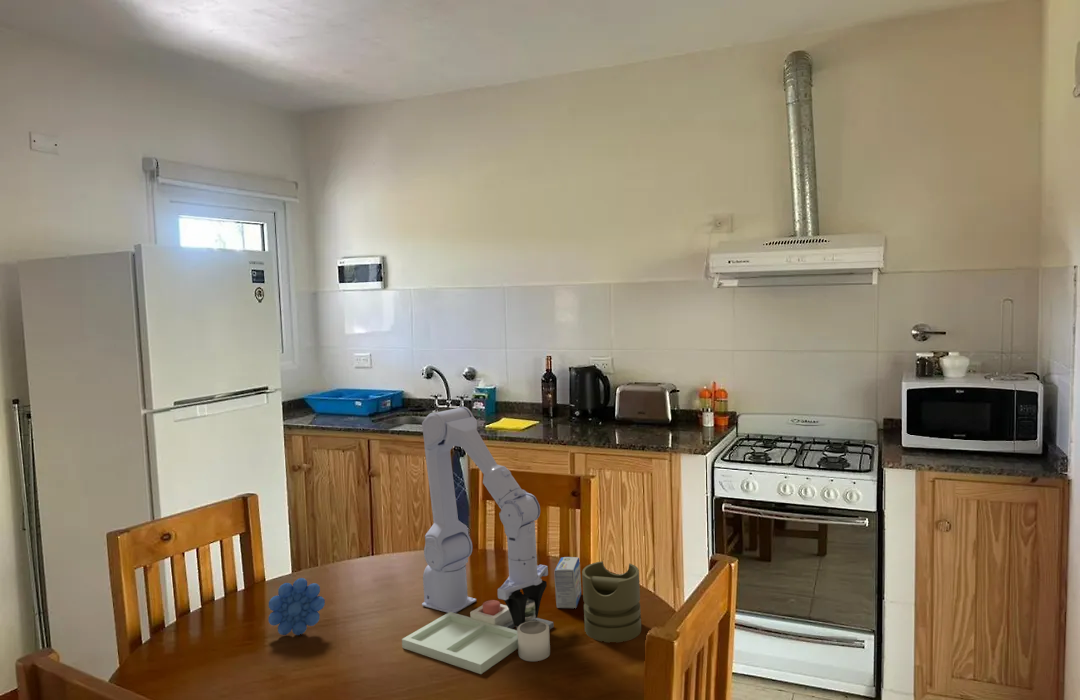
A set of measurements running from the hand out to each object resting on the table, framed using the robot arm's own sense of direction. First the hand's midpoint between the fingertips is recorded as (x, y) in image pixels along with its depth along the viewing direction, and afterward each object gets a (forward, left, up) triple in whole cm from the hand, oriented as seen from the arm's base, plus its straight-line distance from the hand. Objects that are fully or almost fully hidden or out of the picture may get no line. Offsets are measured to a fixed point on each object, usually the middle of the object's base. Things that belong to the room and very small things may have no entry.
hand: (525, 621), depth 148 cm
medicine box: (0, +16, -2) cm, 16 cm away
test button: (-8, -1, -2) cm, 8 cm away
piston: (+15, +9, -2) cm, 18 cm away
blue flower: (-41, -24, -2) cm, 48 cm away
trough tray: (-7, -11, -2) cm, 13 cm away
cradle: (0, 0, -2) cm, 2 cm away
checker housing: (-8, -1, -2) cm, 8 cm away
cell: (0, 0, -2) cm, 2 cm away
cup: (+7, -7, -2) cm, 10 cm away
